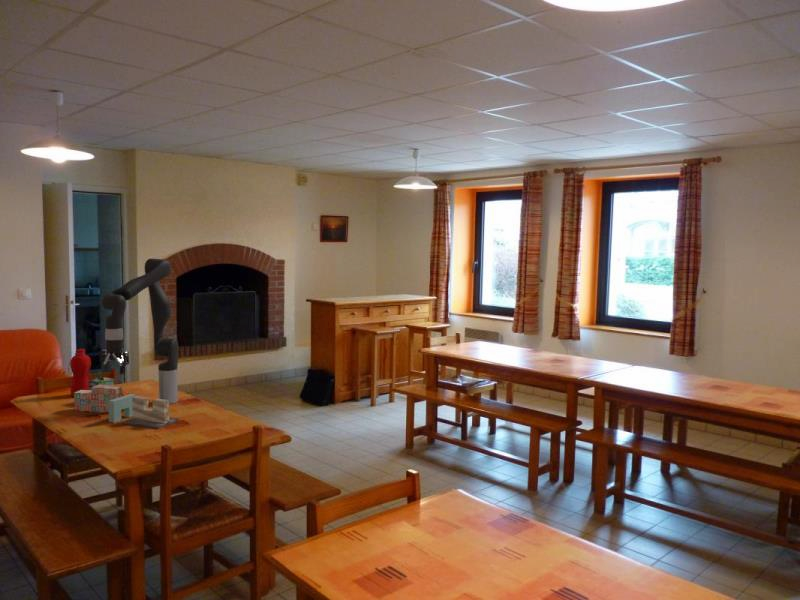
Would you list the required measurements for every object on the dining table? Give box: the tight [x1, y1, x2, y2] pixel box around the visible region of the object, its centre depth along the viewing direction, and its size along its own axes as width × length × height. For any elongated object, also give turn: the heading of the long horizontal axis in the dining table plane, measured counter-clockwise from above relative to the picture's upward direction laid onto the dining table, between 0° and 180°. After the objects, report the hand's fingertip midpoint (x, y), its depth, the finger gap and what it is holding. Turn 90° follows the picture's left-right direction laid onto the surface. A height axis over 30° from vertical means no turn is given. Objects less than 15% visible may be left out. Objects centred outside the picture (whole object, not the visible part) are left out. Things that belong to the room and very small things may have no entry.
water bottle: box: [67, 348, 92, 397], centre depth 331 cm, size 9×11×25 cm
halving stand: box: [121, 395, 180, 430], centre depth 285 cm, size 14×20×11 cm
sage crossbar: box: [108, 393, 137, 424], centre depth 290 cm, size 14×3×10 cm, turn 161°
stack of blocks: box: [73, 384, 123, 413], centre depth 303 cm, size 21×6×12 cm, turn 86°
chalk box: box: [88, 372, 115, 390], centre depth 320 cm, size 9×9×15 cm
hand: (114, 373), depth 284 cm, fingers open, 8 cm apart
